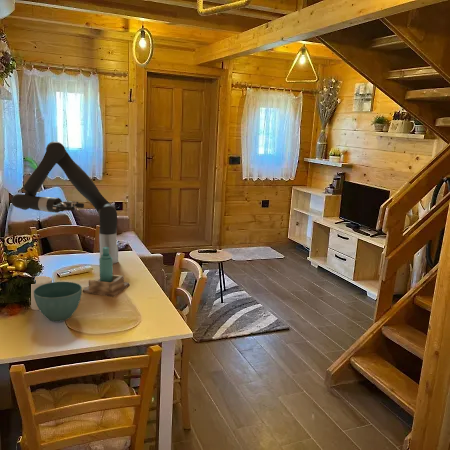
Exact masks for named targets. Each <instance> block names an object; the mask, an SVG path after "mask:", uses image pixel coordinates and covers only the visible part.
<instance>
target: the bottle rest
mask: <svg viewBox="0 0 450 450" xmlns="http://www.w3.org/2000/svg"><path fill="white" fill-rule="evenodd" d="M124 276H125V275H120V274H119V275H118V274H113V281H112V282H111V283H110V282H103V281H100V278H98V279H97V280H96V279H95V280H94V279H89V280H88V286H87V287H85V288H82V293H86V294H93V295H100V296H106V295H107V297H112V298H113V297H116V296H117V295H119V294H120V293H121V292H122V291H123V290H125V289H126V288H128V287H129V286H130V282H126V281H125V279H124V278H125V277H124Z"/></svg>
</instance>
